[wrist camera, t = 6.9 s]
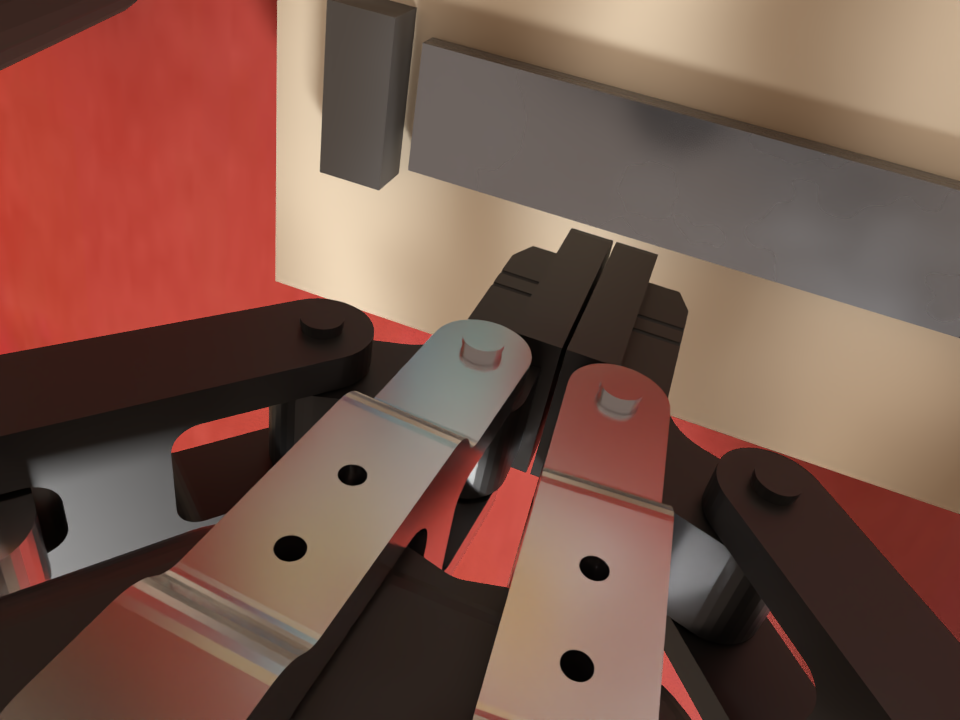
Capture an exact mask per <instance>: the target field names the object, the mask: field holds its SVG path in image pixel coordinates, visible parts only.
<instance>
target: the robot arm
mask: <svg viewBox="0 0 960 720" xmlns="http://www.w3.org/2000/svg"><path fill="white" fill-rule="evenodd" d="M612 245H613V240H609V239H606V238H603V237H600V236H596V235H593V234H590V233H587V232H583V231H580V230H577V229H574V228H571V230H570V231H569V233H568V235H567V236H566V238H565V240H564V241H563V243H562V245H561V246H560V248H559V250H558V251H557V253H554V252H551V251H548V250H545V249H542V248H538V247H535V246H532V247H529V248H527V249H525V250H523V251H520V252H518V253H516V254H514V255H512V256H511V258H510V259H509V261H508V262H507V263H506V265H505V266H504V268H503V269H502V272H501V273H500V274H499V275H498V276H497V278H496V279H495V281H494V283H493V285H491V286H490V288H489V289H488V291H487V292H486V294H485V295H484V296H483V298H482V299H481V301H480V302H479V304H478V305H477V306H476V308H475V309H474V311H473V312H472V314H471V315H470V316H469V318H468V319H467V320H458V321H454V322H451V323H448V324H446V325H444V326H442V327H440V328H439V329H438V330H437V331H436V332H435V333H434V334H433V335H432V336H431V337H430V338H429V340H428V341H427V342H426V343H425V344H424V345H408V344H398V343H390V342H383V341H375V340H373V337H374V327H373V324H372V322H371V320H370V319H369V317H368V316H367V315H366V314H365V313H363V312H362V311H361V310H359V309H358V308H356V307H354V306H352V305H349V304H347V303H344V302H340V301H336V300H331V299H320V298H316V299H304V300H297V301H292V302H287V303H281V304H276V305H270V306H265V307H259V308H254V309H248V310H243V311H237V312H232V313H226V314H221V315H216V316H210V317H205V318H199V319H194V320H188V321H183V322H177V323H172V324H166V325H161V326H155V327H150V328H144V329H139V330H134V331H128V332H123V333H117V334H112V335H106V336H101V337H95V338H90V339H84V340H79V341H73V342H68V343H62V344H57V345H52V346H46V347H41V348H35V349H30V350H24V351H19V352H13V353H8V354H2V355H0V720H691V718H690V717H689V715H688V714H687V713H686V712H685V710H684V709H683V708H682V707H681V705H680V704H679V703H678V702H677V700H676V699H675V698H674V697H673V696H672V695H671V694H670V693H669V692H668V690H667V689H666V688H665V687H664V686H663V685H662V684H661V681H662V668H663V654H664V651H665V653H666V655H667V656H668V658H669V660H670V662H671V664H672V665H673V667H674V669H675V671H676V673H677V674H678V676H679V678H680V680H681V682H682V683H683V685H684V687H685V689H686V691H687V692H688V694H689V696H690V698H691V700H692V701H693V703H694V705H695V707H696V709H697V710H698V712H699V714H700V716H701V718H702V719H703V720H960V643H959V642H958V640H957V639H956V638H955V637H954V636H953V635H952V634H951V632H950V631H949V630H948V629H947V628H946V627H945V626H944V624H943V623H942V622H941V621H940V620H939V619H938V617H937V616H936V615H935V614H934V613H933V612H932V611H931V609H930V608H929V607H928V606H927V605H926V604H925V603H924V601H923V600H922V599H921V598H920V597H919V596H918V595H917V593H916V592H915V591H914V590H913V589H912V588H911V587H910V585H909V584H908V583H907V582H906V581H905V580H904V579H903V577H902V576H901V575H900V574H899V573H898V572H897V571H896V569H895V568H894V567H893V566H892V565H891V564H890V563H889V561H888V560H887V559H886V558H885V557H884V556H883V555H882V553H881V552H880V551H879V550H878V549H877V548H876V547H875V545H874V544H873V543H872V542H871V541H870V540H869V539H868V537H867V536H866V535H865V534H864V533H863V532H862V531H861V529H860V528H859V527H858V526H857V525H856V524H855V523H854V521H853V520H852V519H851V518H850V517H849V516H848V515H847V513H846V512H845V511H844V510H843V509H842V508H841V507H840V505H839V504H838V503H837V502H836V501H835V500H834V498H833V497H832V496H831V495H830V494H829V493H828V492H827V490H826V489H825V488H824V487H823V486H822V485H821V484H820V482H819V481H818V480H817V479H816V478H815V477H814V476H813V475H812V474H811V473H809V472H808V471H807V470H806V469H805V468H803V467H802V466H800V465H799V464H797V463H796V462H794V461H792V460H790V459H788V458H787V457H784V456H782V455H780V454H777V453H774V452H771V451H768V450H763V449H758V448H739V449H735V450H732V451H730V452H727V453H726V454H725V455H723V456H722V457H721V459H719V458H717V457H715V456H714V455H712V454H710V453H709V452H707V451H705V450H704V449H702V448H701V447H699V446H698V445H696V444H695V443H693V442H692V441H691V440H690V439H688V438H687V437H686V436H685V435H684V434H683V433H682V432H681V431H680V430H679V429H678V427H677V426H676V425H675V423H674V422H673V420H672V418H671V416H670V403H669V400H668V396H669V392H670V388H671V384H672V379H673V375H674V371H675V367H676V362H677V358H678V354H679V350H680V345H681V341H682V337H683V333H684V329H685V325H686V320H687V316H688V312H689V311H688V309H687V307H686V305H685V302H684V300H683V298H682V296H681V294H680V292H678V291H675V290H671V289H668V288H665V287H662V286H659V285H656V284H653V283H649V280H650V277H651V274H652V271H653V269H654V266H655V263H656V260H657V257H658V254H655V253H652V252H648V251H645V250H642V249H639V248H636V247H632V246H629V245H626V244H623V243H619V242H616V244H615V246H614V248H613V250H612V252H611V249H612ZM610 252H611V254H610ZM609 256H610V257H609ZM265 407H269V428H265V429H262V430H258V431H254V432H250V433H247V434H243V435H239V436H235V437H232V438H228V439H224V440H220V441H217V442H213V443H209V444H205V445H202V446H198V447H194V448H190V449H187V450H183V451H179V452H175V453H171V449H172V446H173V444H174V442H175V440H176V439H177V438H178V437H179V436H180V435H181V434H182V433H183V432H184V431H186V430H187V429H189V428H191V427H193V426H195V425H199V424H202V423H206V422H210V421H214V420H218V419H222V418H226V417H230V416H234V415H238V414H242V413H246V412H250V411H254V410H258V409H261V408H265ZM539 442H540V443H539ZM538 444H539V446H538ZM537 446H538V450H537V453H536V456H535V460H534V463H533V467H532V470H531V473H530V474H532V475H535V476H537V477H539V480H538V483H537V487H536V490H535V493H534V496H533V499H532V503H531V506H530V509H529V513H528V516H527V519H526V523H525V526H524V530H523V533H522V537H521V540H520V543H519V547H518V550H517V554H516V557H515V561H514V564H513V568H512V571H511V574H510V578H509V581H508V585H507V587H501V586H495V585H489V584H483V583H477V582H471V581H465V580H461V579H457V578H455V577H452V574H453V572H454V571H455V569H456V567H457V566H458V564H459V562H460V561H461V559H462V557H463V556H464V554H465V552H466V550H467V549H468V547H469V545H470V544H471V542H472V540H473V539H474V537H475V535H476V534H477V532H478V530H479V528H480V527H481V525H482V523H483V522H484V520H485V518H486V517H487V515H488V513H489V512H490V510H491V508H492V506H493V504H494V502H495V498H496V495H497V491H498V488H499V487H500V486H501V485H502V484H503V482H504V480H505V478H506V476H507V474H508V472H509V470H510V467H512V468H515V469H518V470H520V471H523V472H526V471H527V469H528V467H529V465H530V462H531V460H532V458H533V455H534V453H535V451H536V449H537ZM770 611H771V613H772V614H773V616H774V617H775V619H776V620H777V621H778V623H779V624H780V626H781V627H782V629H783V630H784V631H785V633H786V634H787V636H788V637H789V639H790V640H791V642H792V643H793V644H794V646H795V647H796V649H797V650H798V652H799V653H800V654H801V656H802V657H803V659H804V660H805V662H806V663H807V665H808V667H809V669H810V671H811V673H812V676H813V678H814V682H815V686H816V688H815V686H814V685H813V683H812V682H811V681H810V679H809V678H808V676H807V675H806V673H805V672H804V670H803V669H802V667H801V666H800V665H799V663H798V662H797V660H796V659H795V657H794V656H793V654H792V653H791V651H790V650H789V649H788V647H787V646H786V644H785V643H784V641H783V640H782V638H781V637H780V635H779V634H778V633H777V631H776V630H775V628H774V627H773V625H772V624H771V622H770V621H769V619H768V618H767V615H768V613H769V612H770Z"/></svg>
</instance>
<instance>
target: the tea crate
mask: <svg viewBox="0 0 960 720" xmlns="http://www.w3.org/2000/svg"><path fill="white" fill-rule="evenodd" d="M432 37H434V38H438V39H441V40H445V41H449V42H452V43H456V44H460V45H463V46H467V47H471V48H474V49H478V50H482V51H485V52H489V53H493V54H496V55H500V56H504V57H507V58H511V59H515V60H518V61H522V62H526V63H529V64H533V65H537V66H540V67H544V68H548V69H551V70H555V71H559V72H562V73H566V74H570V75H573V76H577V77H581V78H584V79H588V80H592V81H595V82H599V83H603V84H606V85H610V86H614V87H617V88H621V89H625V90H628V91H632V92H636V93H639V94H643V95H647V96H650V97H654V98H658V99H661V100H665V101H669V102H672V103H676V104H680V105H683V106H687V107H691V108H694V109H698V110H702V111H705V112H709V113H713V114H716V115H720V116H724V117H727V118H731V119H735V120H738V121H742V122H746V123H749V124H753V125H757V126H760V127H764V128H768V129H771V130H775V131H779V132H782V133H786V134H790V135H793V136H797V137H801V138H804V139H808V140H812V141H815V142H819V143H823V144H826V145H830V146H834V147H837V148H841V149H845V150H848V151H852V152H856V153H859V154H863V155H867V156H870V157H874V158H878V159H881V160H885V161H889V162H892V163H896V164H899V165H903V166H907V167H910V168H914V169H918V170H921V171H925V172H929V173H932V174H936V175H940V176H943V177H947V178H951V179H954V180H958V181H960V0H277V123H276V281H277V282H280V283H283V284H286V285H289V286H292V287H295V288H298V289H301V290H304V291H307V292H310V293H313V294H315V295H318V296H321V297H324V298H327V299H331V300H336V301H340V302H344V303H347V304H349V305H352V306H354V307H356V308H358V309H359V310H362V311H365V312H368V313H371V314H374V315H377V316H380V317H383V318H386V319H389V320H392V321H395V322H398V323H401V324H403V325H406V326H409V327H412V328H415V329H418V330H421V331H424V332H427V333H430V334H434V333H435V332H436V331H437V330H438V329H439V328H440V327H442V326H444V325H446V324H448V323H451V322H454V321H458V320H467V319H468V318H469V316H470V315H471V314H472V312H473V311H474V309H475V308H476V306H477V305H478V304H479V302H480V301H481V299H482V298H483V296H484V295H485V294H486V292H487V291H488V289H489V288H490V286H491V285H493V283H494V281H495V279H496V278H497V276H498V275H499V274H500V273H501V272H502V269H503V268H504V266H505V265H506V263H507V262H508V261H509V259H510V258H511V256H512V255H514V254H516V253H518V252H520V251H523V250H525V249H527V248H529V247H532V246H535V247H538V248H542V249H545V250H548V251H551V252H554V253H557V251H558V250H559V248H560V246H561V245H562V243H563V241H564V240H565V238H566V236H567V235H568V233H569V231H570V230H571V228H574V229H577V230H580V231H583V232H587V233H590V234H593V235H596V236H600V237H603V238H606V239H609V240H613V245H612V249H611V252H612V250H613V248H614V246H615V244H616V242H619V243H623V244H626V245H629V246H632V247H636V248H639V249H642V250H645V251H648V252H652V253H655V254H658V257H657V260H656V263H655V266H654V269H653V271H652V274H651V277H650V280H649V283H653V284H656V285H659V286H662V287H665V288H668V289H671V290H675V291H678V292H680V294H681V296H682V298H683V300H684V302H685V305H686V307H687V309H688V311H689V312H688V316H687V320H686V325H685V329H684V333H683V337H682V341H681V345H680V350H679V354H678V358H677V362H676V367H675V371H674V375H673V379H672V384H671V388H670V392H669V396H668V400H669V403H670V416H673V417H676V418H679V419H682V420H685V421H688V422H691V423H694V424H697V425H700V426H703V427H706V428H708V429H711V430H714V431H717V432H720V433H723V434H726V435H729V436H732V437H735V438H738V439H741V440H744V441H747V442H750V443H752V444H755V445H758V446H761V447H764V448H767V449H770V450H773V451H776V452H779V453H782V454H785V455H788V456H791V457H794V458H796V459H799V460H802V461H805V462H808V463H811V464H814V465H817V466H820V467H823V468H826V469H829V470H832V471H835V472H838V473H840V474H843V475H846V476H849V477H852V478H855V479H858V480H861V481H864V482H867V483H870V484H873V485H876V486H879V487H882V488H884V489H887V490H890V491H893V492H896V493H899V494H902V495H905V496H908V497H911V498H914V499H917V500H920V501H923V502H926V503H928V504H931V505H934V506H937V507H940V508H943V509H946V510H949V511H952V512H955V513H958V514H960V338H957V337H954V336H951V335H947V334H944V333H941V332H937V331H934V330H931V329H928V328H924V327H921V326H918V325H915V324H911V323H908V322H905V321H901V320H898V319H895V318H892V317H888V316H885V315H882V314H878V313H875V312H872V311H869V310H865V309H862V308H859V307H855V306H852V305H849V304H846V303H842V302H839V301H836V300H832V299H829V298H826V297H823V296H819V295H816V294H813V293H809V292H806V291H803V290H800V289H796V288H793V287H790V286H786V285H783V284H780V283H777V282H773V281H770V280H767V279H763V278H760V277H757V276H754V275H750V274H747V273H744V272H740V271H737V270H734V269H731V268H727V267H724V266H721V265H717V264H714V263H711V262H708V261H704V260H701V259H698V258H694V257H691V256H688V255H685V254H681V253H678V252H675V251H671V250H668V249H665V248H662V247H658V246H655V245H652V244H649V243H645V242H642V241H639V240H635V239H632V238H629V237H626V236H622V235H619V234H616V233H612V232H609V231H606V230H603V229H599V228H596V227H593V226H589V225H586V224H583V223H580V222H576V221H573V220H570V219H566V218H563V217H560V216H557V215H553V214H550V213H547V212H543V211H540V210H537V209H534V208H530V207H527V206H524V205H520V204H517V203H514V202H511V201H507V200H504V199H501V198H497V197H494V196H491V195H488V194H484V193H481V192H478V191H474V190H471V189H468V188H465V187H461V186H458V185H455V184H451V183H448V182H445V181H442V180H438V179H435V178H432V177H428V176H425V175H422V174H419V173H415V172H412V171H409V170H408V165H409V156H410V148H411V139H412V131H413V122H414V113H415V105H416V96H417V87H418V79H419V70H420V62H421V53H422V44H423V42H425V41H427V40H429V39H430V38H432ZM611 252H610V254H611ZM609 257H610V256H609Z"/></svg>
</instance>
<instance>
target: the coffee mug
mask: <svg viewBox="0 0 960 720" xmlns="http://www.w3.org/2000/svg"><path fill="white" fill-rule="evenodd" d="M136 1H137V0H0V70H2V69H4V68H6V67H8V66H11V65H13V64H15V63H17V62H19V61H21V60H23V59H25V58H27V57H29V56H31V55H33V54H35V53H38V52H40V51H42V50H44V49H46V48H48V47H50V46H52V45H54V44H56V43H58V42H60V41H62V40H64V39H67V38H69V37H71V36H73V35H75V34H77V33H79V32H81V31H83V30H85V29H87V28H89V27H91V26H93V25H96V24H98V23H100V22H102V21H104V20H106V19H108V18H110V17H112V16H114V15H116V14H118V13H120V12H123V11H125V10H126V9H127V8H129V7H130V6H131V5H132V4H134V3H135V2H136Z"/></svg>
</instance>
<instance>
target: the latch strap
mask: <svg viewBox="0 0 960 720" xmlns="http://www.w3.org/2000/svg"><path fill="white" fill-rule="evenodd" d="M408 170H409V171H412V172H415V173H419V174H422V175H425V176H428V177H432V178H435V179H438V180H442V181H445V182H448V183H451V184H455V185H458V186H461V187H465V188H468V189H471V190H474V191H478V192H481V193H484V194H488V195H491V196H494V197H497V198H501V199H504V200H507V201H511V202H514V203H517V204H520V205H524V206H527V207H530V208H534V209H537V210H540V211H543V212H547V213H550V214H553V215H557V216H560V217H563V218H566V219H570V220H573V221H576V222H580V223H583V224H586V225H589V226H593V227H596V228H599V229H603V230H606V231H609V232H612V233H616V234H619V235H622V236H626V237H629V238H632V239H635V240H639V241H642V242H645V243H649V244H652V245H655V246H658V247H662V248H665V249H668V250H671V251H675V252H678V253H681V254H685V255H688V256H691V257H694V258H698V259H701V260H704V261H708V262H711V263H714V264H717V265H721V266H724V267H727V268H731V269H734V270H737V271H740V272H744V273H747V274H750V275H754V276H757V277H760V278H763V279H767V280H770V281H773V282H777V283H780V284H783V285H786V286H790V287H793V288H796V289H800V290H803V291H806V292H809V293H813V294H816V295H819V296H823V297H826V298H829V299H832V300H836V301H839V302H842V303H846V304H849V305H852V306H855V307H859V308H862V309H865V310H869V311H872V312H875V313H878V314H882V315H885V316H888V317H892V318H895V319H898V320H901V321H905V322H908V323H911V324H915V325H918V326H921V327H924V328H928V329H931V330H934V331H937V332H941V333H944V334H947V335H951V336H954V337H957V338H960V181H958V180H954V179H951V178H947V177H943V176H940V175H936V174H932V173H929V172H925V171H921V170H918V169H914V168H910V167H907V166H903V165H899V164H896V163H892V162H889V161H885V160H881V159H878V158H874V157H870V156H867V155H863V154H859V153H856V152H852V151H848V150H845V149H841V148H837V147H834V146H830V145H826V144H823V143H819V142H815V141H812V140H808V139H804V138H801V137H797V136H793V135H790V134H786V133H782V132H779V131H775V130H771V129H768V128H764V127H760V126H757V125H753V124H749V123H746V122H742V121H738V120H735V119H731V118H727V117H724V116H720V115H716V114H713V113H709V112H705V111H702V110H698V109H694V108H691V107H687V106H683V105H680V104H676V103H672V102H669V101H665V100H661V99H658V98H654V97H650V96H647V95H643V94H639V93H636V92H632V91H628V90H625V89H621V88H617V87H614V86H610V85H606V84H603V83H599V82H595V81H592V80H588V79H584V78H581V77H577V76H573V75H570V74H566V73H562V72H559V71H555V70H551V69H548V68H544V67H540V66H537V65H533V64H529V63H526V62H522V61H518V60H515V59H511V58H507V57H504V56H500V55H496V54H493V53H489V52H485V51H482V50H478V49H474V48H471V47H467V46H463V45H460V44H456V43H452V42H449V41H445V40H441V39H438V38H434V37H432V38H430V39H429V40H427V41H425V42H423V44H422V53H421V62H420V70H419V79H418V87H417V96H416V105H415V113H414V122H413V131H412V139H411V148H410V156H409V165H408Z"/></svg>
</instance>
